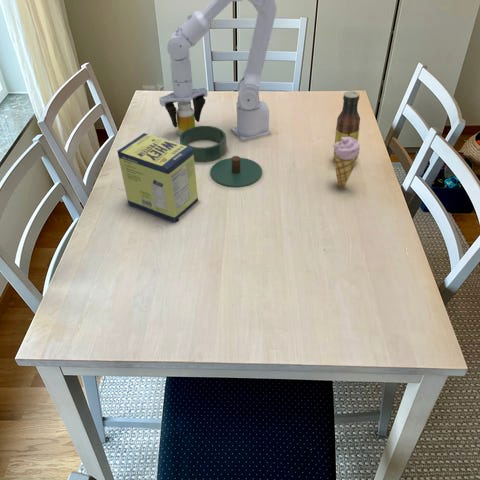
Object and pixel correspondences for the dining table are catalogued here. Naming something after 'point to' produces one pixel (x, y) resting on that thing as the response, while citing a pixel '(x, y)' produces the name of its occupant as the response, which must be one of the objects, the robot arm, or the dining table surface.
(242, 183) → the lid
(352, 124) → the sauce bottle
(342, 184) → the ice cream cone
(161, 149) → the protein box
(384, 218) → the dining table surface
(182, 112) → the supplement bottle
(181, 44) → the robot arm
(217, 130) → the pot
